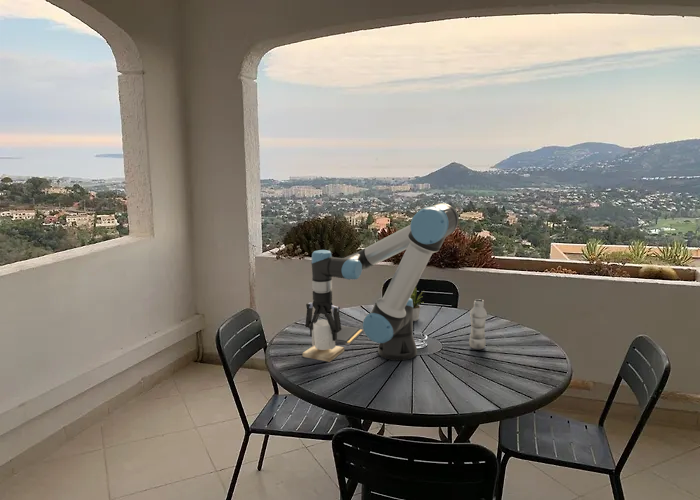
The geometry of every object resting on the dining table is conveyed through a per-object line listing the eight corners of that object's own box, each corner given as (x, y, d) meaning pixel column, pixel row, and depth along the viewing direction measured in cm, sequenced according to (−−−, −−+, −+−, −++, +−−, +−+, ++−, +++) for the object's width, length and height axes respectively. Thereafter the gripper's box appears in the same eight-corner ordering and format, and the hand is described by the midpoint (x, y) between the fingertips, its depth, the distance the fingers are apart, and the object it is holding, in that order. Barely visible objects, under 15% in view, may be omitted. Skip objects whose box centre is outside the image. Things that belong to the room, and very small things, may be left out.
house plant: (391, 315, 255) (391, 282, 252) (417, 312, 259) (418, 279, 256) (402, 325, 242) (403, 290, 238) (430, 321, 246) (431, 287, 243)
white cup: (331, 351, 205) (330, 326, 203) (311, 350, 207) (310, 325, 205) (335, 343, 213) (335, 320, 211) (316, 342, 215) (315, 318, 213)
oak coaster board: (344, 350, 213) (344, 347, 213) (329, 361, 203) (329, 358, 202) (318, 345, 219) (318, 342, 218) (302, 356, 208) (302, 352, 208)
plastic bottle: (488, 348, 214) (490, 300, 210) (480, 353, 209) (481, 304, 205) (474, 344, 219) (476, 297, 214) (465, 348, 214) (467, 300, 210)
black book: (335, 323, 242) (366, 327, 236) (335, 326, 242) (366, 331, 236) (315, 338, 224) (348, 343, 218) (315, 342, 224) (348, 347, 219)
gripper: (350, 290, 204) (351, 347, 209) (304, 285, 213) (306, 339, 218) (341, 296, 198) (342, 354, 202) (294, 289, 207) (296, 345, 211)
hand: (323, 346), depth 210 cm, fingers closed on white cup, 7 cm apart
